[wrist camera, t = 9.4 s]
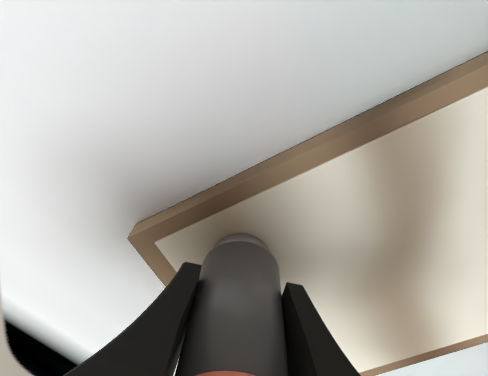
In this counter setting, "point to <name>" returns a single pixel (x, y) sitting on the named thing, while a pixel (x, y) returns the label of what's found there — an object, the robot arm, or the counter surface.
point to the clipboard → (366, 223)
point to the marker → (236, 314)
